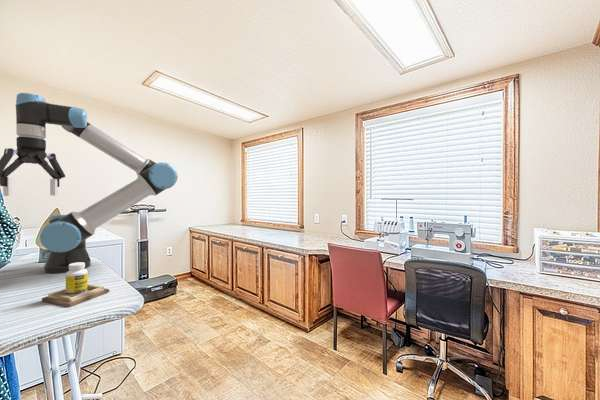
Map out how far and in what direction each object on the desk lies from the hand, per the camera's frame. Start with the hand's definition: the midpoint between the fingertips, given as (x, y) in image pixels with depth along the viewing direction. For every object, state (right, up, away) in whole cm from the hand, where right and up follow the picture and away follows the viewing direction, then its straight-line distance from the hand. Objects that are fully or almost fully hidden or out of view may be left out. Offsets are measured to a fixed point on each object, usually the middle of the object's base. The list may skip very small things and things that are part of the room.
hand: (32, 195), depth 97 cm
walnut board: (+27, -33, -12) cm, 44 cm away
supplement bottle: (+26, -32, -12) cm, 43 cm away
